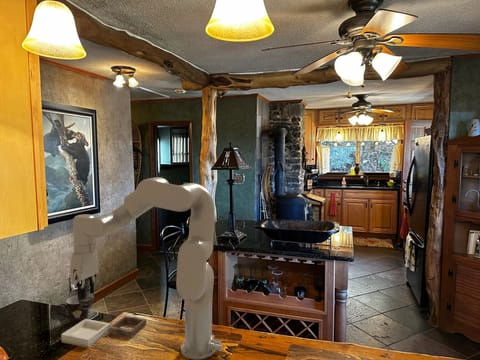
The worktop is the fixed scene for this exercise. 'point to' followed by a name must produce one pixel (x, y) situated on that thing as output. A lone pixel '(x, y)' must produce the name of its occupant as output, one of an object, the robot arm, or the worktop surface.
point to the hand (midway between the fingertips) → (85, 294)
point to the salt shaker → (86, 302)
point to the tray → (85, 333)
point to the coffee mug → (74, 311)
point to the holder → (119, 331)
